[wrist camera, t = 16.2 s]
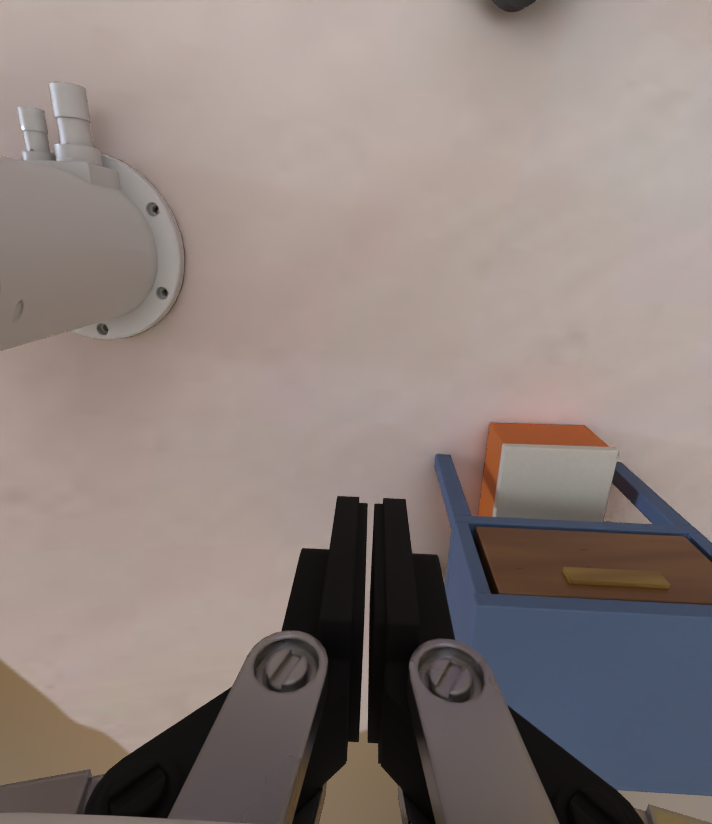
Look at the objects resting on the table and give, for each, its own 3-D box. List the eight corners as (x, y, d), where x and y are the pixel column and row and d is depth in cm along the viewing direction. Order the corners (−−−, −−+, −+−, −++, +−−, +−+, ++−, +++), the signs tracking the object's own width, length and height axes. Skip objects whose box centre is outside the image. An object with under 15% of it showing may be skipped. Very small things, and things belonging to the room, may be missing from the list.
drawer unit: (433, 451, 38) (476, 605, 22) (624, 459, 37) (811, 622, 21) (421, 575, 42) (450, 780, 26) (593, 584, 42) (729, 797, 26)
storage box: (487, 420, 37) (504, 446, 32) (587, 423, 36) (619, 450, 32) (474, 531, 40) (487, 569, 35) (565, 534, 40) (590, 574, 35)
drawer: (476, 521, 28) (500, 588, 23) (686, 531, 28) (761, 601, 23) (458, 649, 32) (475, 733, 26) (644, 659, 32) (700, 747, 26)
